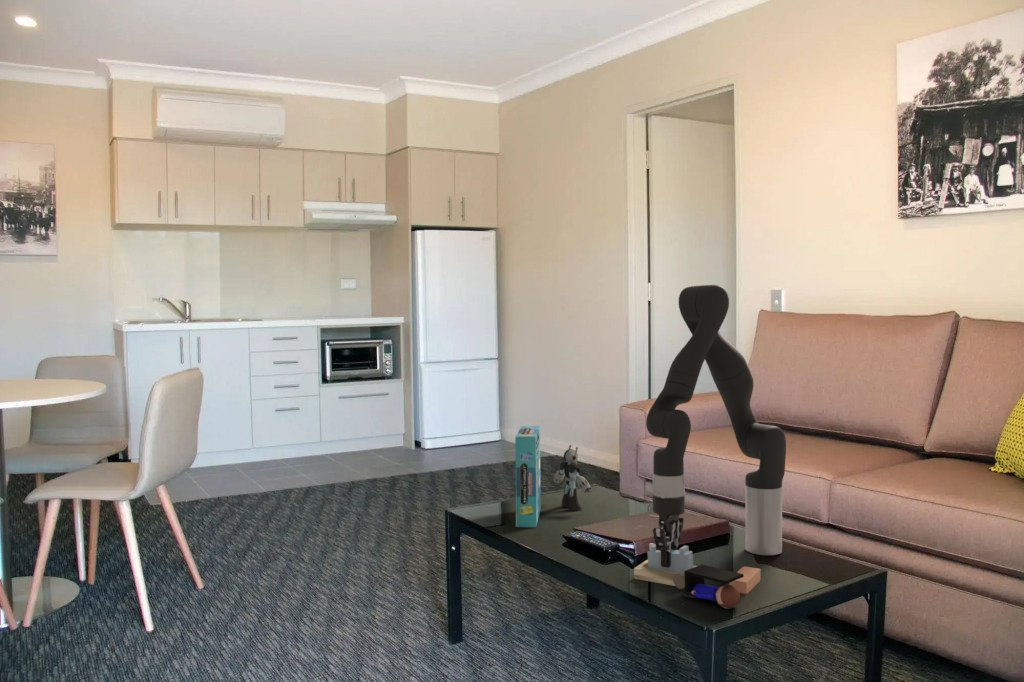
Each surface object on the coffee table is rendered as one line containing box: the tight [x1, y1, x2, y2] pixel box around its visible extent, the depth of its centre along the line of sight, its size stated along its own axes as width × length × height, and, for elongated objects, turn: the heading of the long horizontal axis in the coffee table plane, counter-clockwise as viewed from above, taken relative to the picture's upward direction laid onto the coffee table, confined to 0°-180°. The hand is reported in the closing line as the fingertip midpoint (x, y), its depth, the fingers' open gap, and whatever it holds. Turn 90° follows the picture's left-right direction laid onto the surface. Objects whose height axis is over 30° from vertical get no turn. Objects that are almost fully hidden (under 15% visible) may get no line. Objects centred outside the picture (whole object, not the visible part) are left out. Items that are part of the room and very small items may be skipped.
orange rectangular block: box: [728, 565, 762, 595], centre depth 194 cm, size 11×4×3 cm, turn 148°
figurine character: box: [673, 564, 743, 610], centre depth 184 cm, size 7×8×15 cm
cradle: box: [633, 558, 698, 587], centre depth 200 cm, size 9×14×2 cm, turn 57°
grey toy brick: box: [646, 542, 695, 573], centre depth 199 cm, size 3×10×6 cm, turn 57°
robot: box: [552, 444, 592, 512], centre depth 269 cm, size 20×5×20 cm, turn 29°
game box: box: [514, 425, 542, 528], centre depth 256 cm, size 20×6×27 cm, turn 175°
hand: (668, 564), depth 199 cm, fingers closed on grey toy brick, 3 cm apart
